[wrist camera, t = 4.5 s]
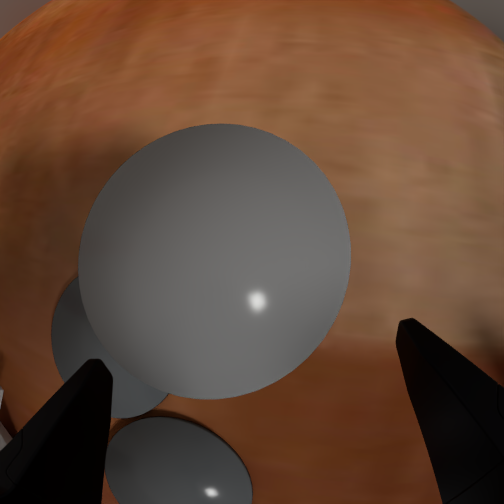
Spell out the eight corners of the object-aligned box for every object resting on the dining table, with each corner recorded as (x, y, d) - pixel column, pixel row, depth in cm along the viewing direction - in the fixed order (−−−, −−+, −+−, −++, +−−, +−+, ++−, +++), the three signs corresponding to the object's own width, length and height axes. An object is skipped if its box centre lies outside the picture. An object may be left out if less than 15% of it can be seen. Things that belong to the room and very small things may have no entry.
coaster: (127, 444, 17) (124, 447, 17) (37, 344, 19) (33, 344, 19) (216, 333, 18) (214, 333, 18) (105, 237, 21) (102, 235, 20)
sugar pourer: (270, 368, 17) (227, 455, 5) (197, 311, 19) (42, 276, 6) (327, 291, 18) (403, 215, 6) (252, 238, 19) (188, 90, 7)
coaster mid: (196, 556, 14) (194, 560, 14) (87, 472, 17) (84, 474, 16) (286, 481, 16) (286, 484, 15) (155, 384, 18) (152, 385, 17)
